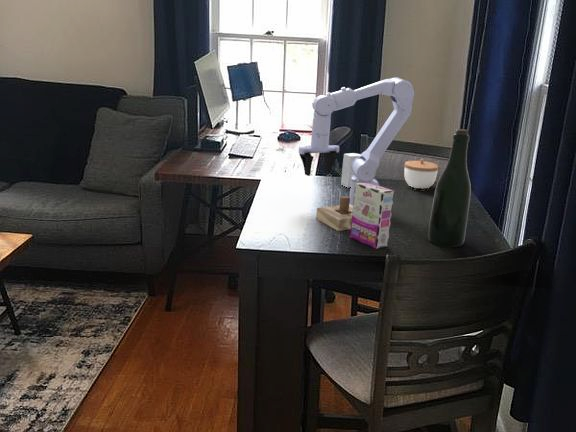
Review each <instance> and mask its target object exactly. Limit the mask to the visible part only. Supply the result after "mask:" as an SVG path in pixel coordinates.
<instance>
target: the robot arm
mask: <svg viewBox="0 0 576 432" xmlns="http://www.w3.org/2000/svg"><path fill="white" fill-rule="evenodd" d="M377 95H383V96H388V97H389V98H390V99H391V103H392V105H393V110H392V111H391V114H389V117H388V118H387V119H386V121H385V122H384V124H383V125H382V126H381V128H380V129H379V131H378V133H377V134H376V136H375V137H374V139H373V140H372V141H371V143H369V144H370V145H369V146H368V147H367V149H366V150H364V151H363V152H362V153H360V156H359V157H358V158H356V159H355V160H354V161H353V162H352V164H351V170H352V172H353V173H354V174H353V176H352V178H351V188H350V190H349V197H350V204H349V205H351V206H353V201H354V192H355V183H361V182H369V183H372V184H375V185H378V186H380V184H379V182H378V180H377V179H376V178H375V176H376V173H377V169H378V168H379V166H380V161H381V157H382V156H383V155H384V153H385V152H386V151H387V150H388V147H389V146H390V144H391V143H392V142H393V141H394V139H395V137H396V136H397V134H398V133H399V132H400V130H401V128H402V127H403V126H404V124H405V123H406V121H407V119H408V118H409V117H410V115H411V114H412V109H413V101H414V100H413V99H414V97H415V91H414V87H413V85H412V83H411V82H410V81H408V80H405V79H402V78H400V77H397V76H396V77H395V76H394V77H391V78H385V79H382V80H379V81H377V82H374V83H371V84H368V85H365V86H362V87H360V88H357V89H352V88H351V87H347V88H346V87H345V86H343V87H341V88H340V90H338V91H334V92H327V93H326V95H324V94H322V95H318V96H316V97H315V98H314V100H313V103H312V108H313V110H314V112H313V118H312V128H311V139H310V140H311V141H310V145H307V146H299V147H298V154H299V157H300V159H301V161H302V165H303V170H304V175H306V176H308V177H310V176H311V172H312V165H313V161H314V155H312V154H322V153H323V157H324V158H323V159H324V168H323V173H324V174H325V175H330V172H331V169H332V168H333V165H334V163H335V162H336V159H337V158H338V157H339V152H340V146H339V145H334V144H333V145H330V133H331V122H332V121H331V119H332V117H331V116H332V113H333V112H335V111H340V110H342V109H345V108H349V107H352V106H355V104H356V102H357V101H359V100H362V99H366V98H369V97H374V96H377Z"/></svg>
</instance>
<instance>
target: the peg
mask: <svg viewBox="0 0 576 432" xmlns="http://www.w3.org/2000/svg"><path fill="white" fill-rule="evenodd" d="M349 204H350V196H346V195H345V196H344V195H342V196H340V197H339V205H340V206H339V213H340V214H342V215H343V214H348V213H349Z"/></svg>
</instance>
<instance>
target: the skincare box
mask: <svg viewBox="0 0 576 432" xmlns="http://www.w3.org/2000/svg"><path fill="white" fill-rule="evenodd" d="M360 155H361V153H356V152H351V153H350V152H349V153H343V161H342V169H341V170H342V172H341V179H340V180H341V181H340V185H341V186H342V185H343V186H342V187H344V186H345V188H346V187H347V188H348V189H349V188H350V187H351V178H352V176H353V174H354V173H353V172H352V170H351V164H352V162H353V161H354V160H355V159H356V158H358V157H359V156H360ZM347 188H346V189H347Z"/></svg>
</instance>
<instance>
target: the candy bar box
mask: <svg viewBox="0 0 576 432" xmlns="http://www.w3.org/2000/svg"><path fill="white" fill-rule="evenodd" d="M394 196H395V190H393V189H390V188H387V187H385V186H380V185H379V186H378V185H375V184H372V183H369V182H361V183H355V192H354V201H353V211H352V221H351V229H350V233H349V238H350V239H353V240H355V241H357V242H360V243H362V244H364V245H367V246H369V247H371V248H373V249H375V250H376V249H377V250H378V249H382V248H383V249H384V248H386V247H389V246H388V245H389V239H390V231H391V221H392V215H393V206H394V199H395V198H394Z"/></svg>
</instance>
